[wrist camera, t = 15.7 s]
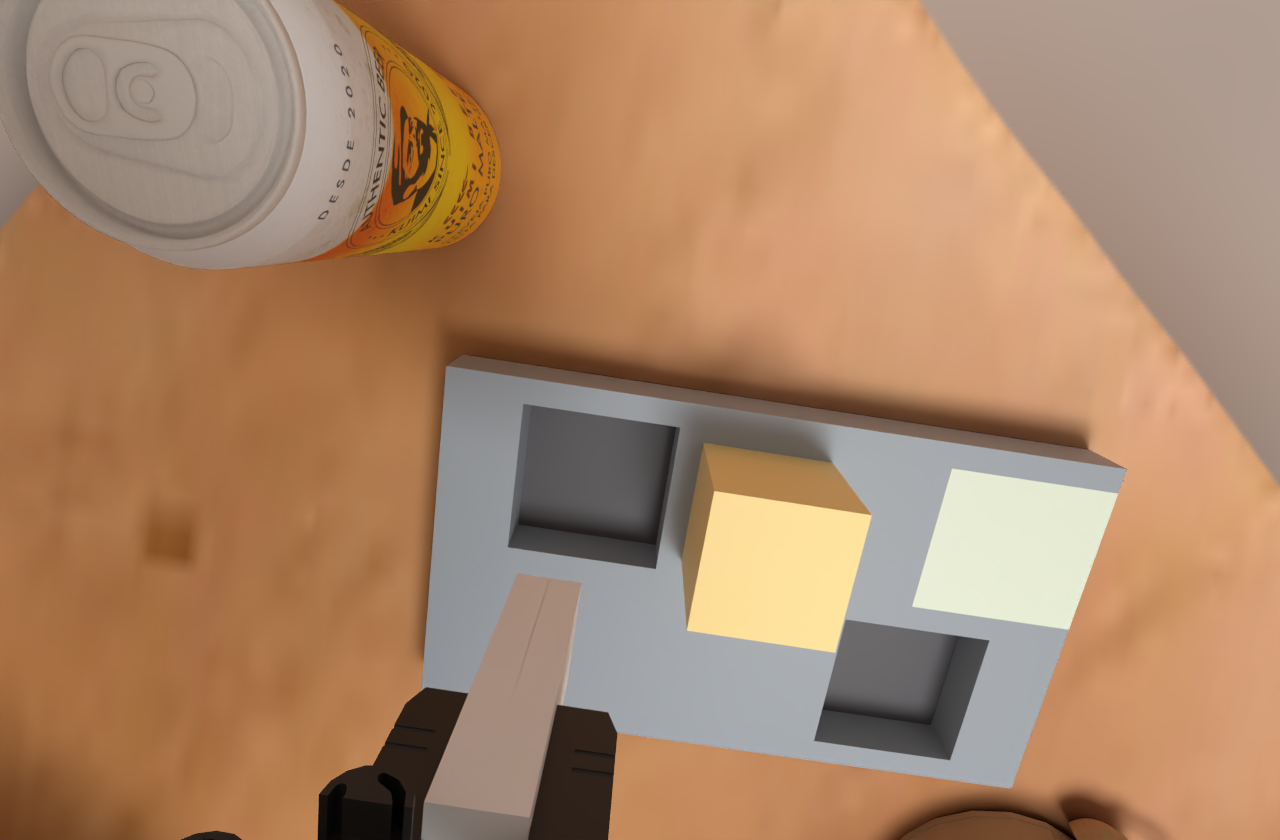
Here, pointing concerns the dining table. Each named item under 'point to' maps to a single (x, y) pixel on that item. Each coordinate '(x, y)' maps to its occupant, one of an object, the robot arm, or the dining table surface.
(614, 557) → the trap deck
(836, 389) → the dining table surface
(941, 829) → the alarm clock
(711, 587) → the block
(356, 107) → the beer can
